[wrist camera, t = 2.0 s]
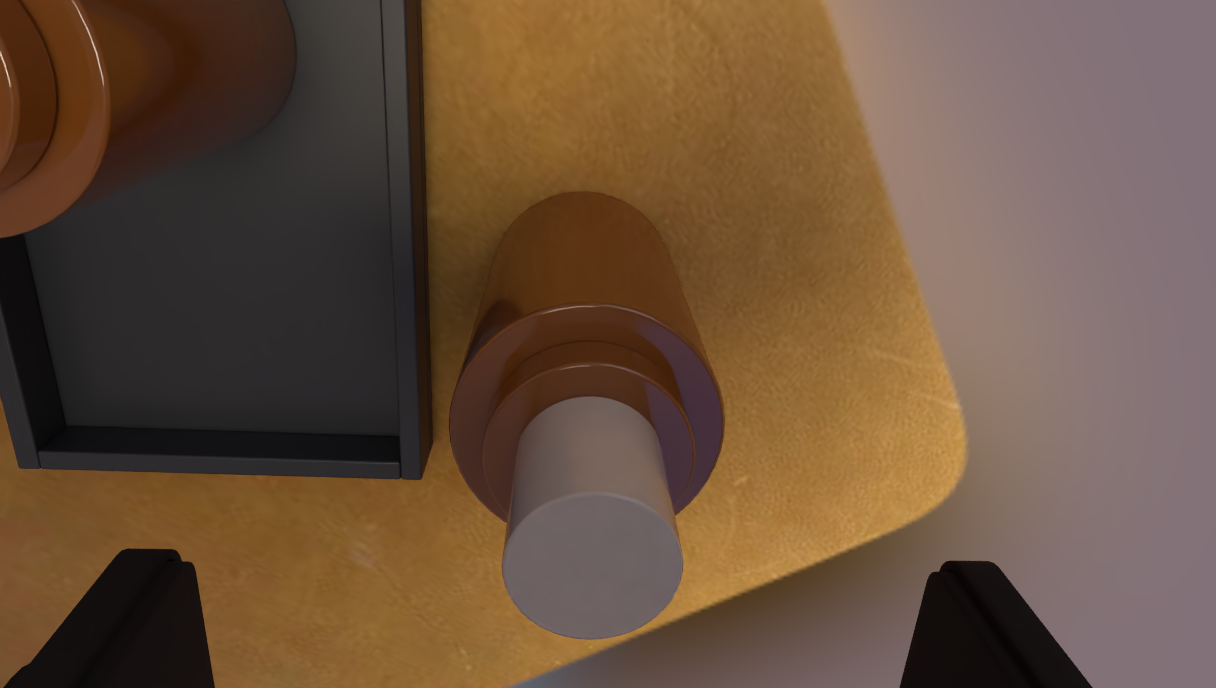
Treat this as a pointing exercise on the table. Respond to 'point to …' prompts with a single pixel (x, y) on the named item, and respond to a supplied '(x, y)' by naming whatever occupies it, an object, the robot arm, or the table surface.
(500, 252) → the loose bottle
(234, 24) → the bottle
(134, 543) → the table surface
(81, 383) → the tray
